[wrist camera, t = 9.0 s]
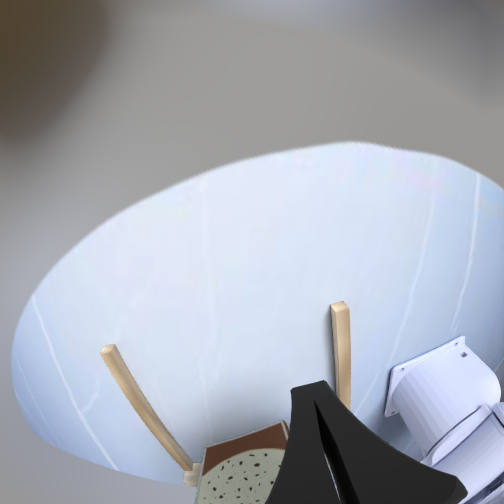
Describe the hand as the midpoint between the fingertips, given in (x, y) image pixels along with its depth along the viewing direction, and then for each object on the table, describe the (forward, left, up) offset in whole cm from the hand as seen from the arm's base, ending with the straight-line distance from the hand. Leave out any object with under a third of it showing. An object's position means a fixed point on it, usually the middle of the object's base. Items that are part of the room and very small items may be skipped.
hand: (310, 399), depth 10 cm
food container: (+5, +18, -10) cm, 21 cm away
